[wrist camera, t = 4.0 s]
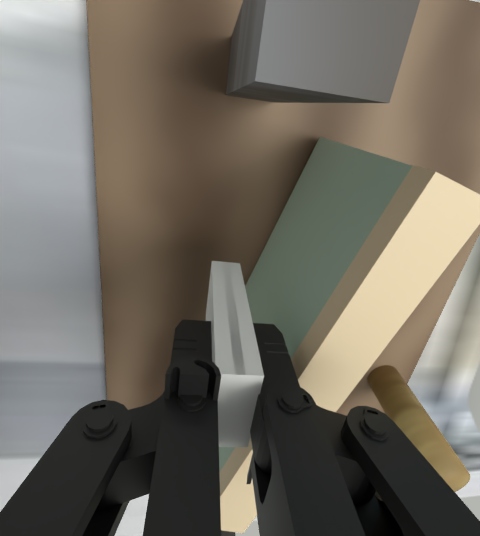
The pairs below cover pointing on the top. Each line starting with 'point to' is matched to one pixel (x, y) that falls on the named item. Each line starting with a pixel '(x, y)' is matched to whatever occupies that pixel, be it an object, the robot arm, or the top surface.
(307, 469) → the robot arm
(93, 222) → the top surface
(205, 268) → the gate frame
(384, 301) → the bar
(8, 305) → the top surface
